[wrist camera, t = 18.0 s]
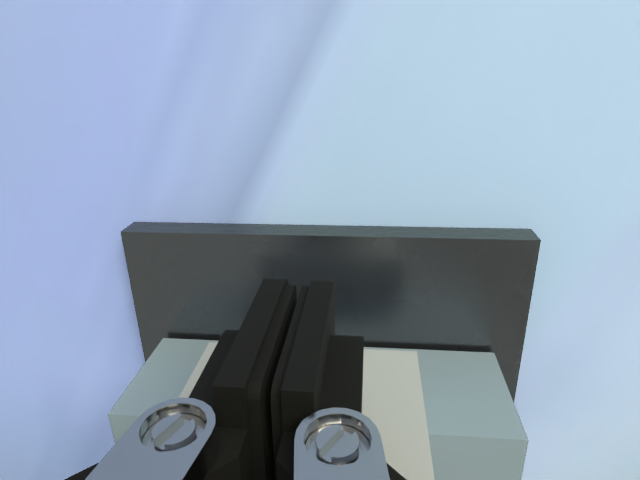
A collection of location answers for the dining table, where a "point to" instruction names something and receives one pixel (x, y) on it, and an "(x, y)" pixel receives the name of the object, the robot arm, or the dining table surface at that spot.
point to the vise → (341, 282)
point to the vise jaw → (384, 407)
